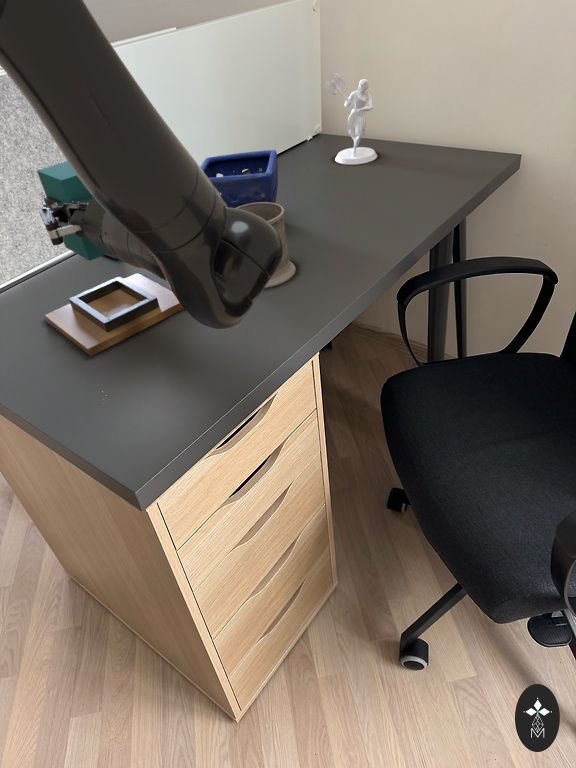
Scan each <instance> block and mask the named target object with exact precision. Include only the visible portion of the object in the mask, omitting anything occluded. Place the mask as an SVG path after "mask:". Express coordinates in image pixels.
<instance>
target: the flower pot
mask: <svg viewBox="0 0 576 768" xmlns="http://www.w3.org/2000/svg"><path fill="white" fill-rule="evenodd" d="M277 153H278V152H277V150H276V149H266V150H265V149H264V150H257V151H255V150H254V151H247V152H246V151H245V152H238V153H237V152H236V153H229V154H222V155H215V156H210V157H209V156H208V157H206V158H204V160H203V161H202V163H201V164H200V165H199V166H200V168H201V169H202V170H203V172H204V173H205V174H206V176H207V177H208V178H209V180H210V181H211V182H212V183H213V185H214V186H215V187H216V189H217V190H218V192H219V193H221V196H222V198H223V200H224V202H225V203H226V205H227V207H228V208H237V207H239V206H242V205H246V204H250V203H256V202H270V203H276V202H277V196H278V195H277V194H278V187H279V186H278V185H279V163H278V162H279V161H278V154H277ZM260 169H261V170H260ZM244 170H248V172H249V174H244V173H243V171H244ZM218 175H222V176H218ZM276 204H277V203H276Z"/></svg>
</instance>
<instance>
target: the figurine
mask: <svg viewBox="0 0 576 768" xmlns="http://www.w3.org/2000/svg"><path fill="white" fill-rule="evenodd" d="M332 76H333V78H334V79H333V80H331V83H330V82H329V80H327V81H325V83H324V84H325V88H326V90H327V91H328V92H329V93H330V94H331V95H332V96H336V95H337V94H338V91H339V92H340V94H341V95H342V96H343V97H344V98H345V101H344V104H343V106H344V108H349V107H350V106H351V107H352V109H351V111H350V114H349V115H348V117H347V134H348V135H350V137H351V139H352V140H353V147H349V148H346V149H343V150H340V151H339V152H337V154H336V156H335V158H334V161H335V162H336V163H338V164H341V165H351V166H352V165H361V164H362V165H363V164H367V163H370V162H373V161H374V160H376V159H377V158H378V154H377V153H376V150H374V149H373V148H370V147H366V146H365V147H364V146H359V144H360V142H361V140H362V138H363V137H364V136H366V126H367V125H366V121H367V120H366V116H365V113H366V112H370V111H372V110H373V109H374V103H373V102H374V101H373V97H372V94H371V92H368V89H369V80H368V79H367V78H362V79H360V80H359V83H358V87H357V88H356V89H357V90H353V91H352V92H351V93H350V95H349V96H346V94H345V93H344V92H343V91H342V89H341V88H343V87H344V86H345V85H346V81H345V80H344V78H343V77H342V76H341V75H340V74H339V73H337V72H334V74H333V75H332ZM340 85H341V88H340V87H339V86H340ZM336 89H337V90H338V91H336ZM352 102H353V103H352ZM365 105H366V106H365ZM358 146H359V147H358Z"/></svg>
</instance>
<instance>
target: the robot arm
mask: <svg viewBox="0 0 576 768" xmlns="http://www.w3.org/2000/svg"><path fill="white" fill-rule="evenodd" d="M0 67H1V68H2V69H3V71H4V72H5V73H6V74H7V75H8V77H9V78H10V80H11V81H12V82H13V83H14V84H15V86H16V87H17V88H18V90H19V91H20V92H21V94H22V95H23V96H24V98H25V99H26V101H27V102H28V103H29V105H30V106H31V108H32V109H33V111H34V112H35V113H36V116H37V117H38V118H39V120H40V121H41V123H42V124H43V126H44V127H45V128H46V130H47V132H48V133H49V134H50V136H51V139H53V141H54V143H55V144H56V145H57V147H58V148H59V150H60V152H61V153H62V155H63V156H64V157H65V159H66V161H68V162H69V164H70V165H71V167H72V168H73V170H74V171H75V173H76V174H77V176H78V177H79V179H80V180H81V182H82V183H83V184H84V186H85V187H86V188H87V190H88V191H89V192H90V193H91V195H92V196H93V197H92V198H91V199H87V200H85V201H83V200H74V199H71V200H69V201H67V202H61V201H59V200H57V199H55V198H52V197H50V196H48V197H47V196H46V197H43V202H42V208H41V209H39V210H38V212H39V215H40V217H41V219H42V222H43V225H44V227H45V230H46V232H47V235H48V237H49V240H50V242H51V244H52V246H59V245H62V244H64V241H63V239H65V238H66V236H65V235H69V234H72V233H75V234H76V235H77V236H80V237H88V238H89V239H90V240H91V241H92V243H93V244H95V245H96V246H97V247H98V248H99V249H101V250H103V251H105V252H107V253H108V254H109V255H110V256H112V257H114V258H115V259H118V260H120V261H122V262H123V263H125V264H128V265H129V266H132V267H134V268H136V269H141V270H144V271H146V272H148V273H149V274H152V275H154V276H155V277H157V278H159V279H161V280H163V281H165V282H167V283H168V286H169V288H170V289H171V291H172V292H173V293H174V295H175V296H176V298H177V300H178V301H179V303H180V304H181V305H182V307H183V308H184V309H183V310H185V312H187V314H188V315H189V316H191V317H192V318H193V319H194V320H195V321H197V322H198V323H199V324H202V325H204V326H206V327H209V328H211V329H216V330H222V329H223V330H224V329H225V330H226V329H229V328H232V327H234V326H237V325H238V324H240V323H241V322H242V321H243V320H244V319H245V317H246V316H247V315H248V313H249V312H250V310H251V309H252V307H253V306H254V304H255V302H256V301H257V300H258V298H259V297H260V295H261V294H262V292H263V291H264V289H266V288H265V286H266V285H267V283H268V282H269V280H270V279H271V278H272V276H273V275H274V273H275V272H276V270H277V268H278V267H279V265H280V263H281V260H282V256H283V246H282V242H281V239H280V237H279V235H278V233H277V232H276V230H275V229H274V228H273V227H272V225H271V224H269V223H268V222H267V221H266V220H264V219H263V218H261V217H260V216H258V215H256V214H253V213H251V212H249V211H245V210H242V209H237V208H228V207H226V205H225V203H224V200H223V198H222V196H221V195H220V193H219V192H218V190H217V189H216V187H215V186H214V185H213V183H212V182H211V181H210V180H209V178H208V177H207V176H206V174H205V173H204V172H203V170H202V169H201V168H200V166H201V165H199V163H198V162H197V161H196V160H195V159H194V157H193V155H191V153H190V152H189V151H188V149H187V148H186V147H185V146H184V144H183V143H182V142H181V140H180V139H179V138H178V136H177V135H176V134H175V133H174V131H173V130H172V128H170V126H169V125H168V124H167V122H166V120H165V119H164V118H163V117H162V116H161V114H160V113H159V112H158V110H157V109H156V107H155V106H154V105H153V103H152V102H151V100H150V99H149V97H148V96H147V95H146V94H145V91H143V89H142V88H141V86H140V85H139V84H138V82H137V81H136V79H135V78H134V76H133V75H132V74H131V72H130V71H129V69H128V68H127V66H126V64H125V63H124V62H123V60H122V59H121V57H120V56H119V54H118V52H117V51H116V50H115V48H114V46H113V45H112V44H111V42H110V40H109V39H108V38H107V36H106V34H105V33H104V32H103V30H102V28H101V27H100V25H99V24H98V22H97V20H96V19H95V17H94V16H93V14H92V13H91V11H90V9H89V8H88V6H87V5H86V3H85V1H84V0H0Z"/></svg>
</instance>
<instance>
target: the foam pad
mask: <svg viewBox="0 0 576 768" xmlns="http://www.w3.org/2000/svg"><path fill="white" fill-rule="evenodd" d="M36 172H37V175H38V177H39V181H40V184H41V186H42V189H43V191H44V193H45V196H46V197H48V196H50V197H52V198H55V199H57V200H59V201H61V202H67V201H69V200H71V199H74V200H83V201H85V200H87V199H91V198H92V197H93V196H92V195H91V193H90V192H89V191H88V190H87V188H86V187H85V186H84V184H83V183H82V182H81V180H80V179H79V177H78V176H77V174H76V173H75V171H74V170H73V168H72V167H71V165H70V164H69V162H68V161H67V160H65V161H62V162H59V163H57V164H54V165H50V166H47V167H44V168H41V169H37V170H36ZM65 236H66V238H65V239H63V244H64V247H65V248H66V249H68V250H70V251H71V252H73V253H75V254H77V255H78V256H80V257H82V258H84V259H85V260H87V261H89V262H90V261H91V262H92V261H93V260H95V259H98V258H100V257H103V256H105V255H107V254H108V253H107V252H105V251H103V250H101V249H99V248H98V247H97V246H96V245H95V244H93V243H92V241H91V240H90V239H89V238H88V237H80V236H77V235H76V234H75V233H72V234H69V235H65Z"/></svg>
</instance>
